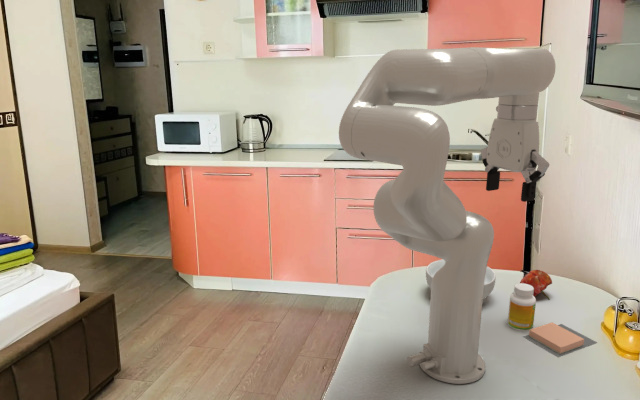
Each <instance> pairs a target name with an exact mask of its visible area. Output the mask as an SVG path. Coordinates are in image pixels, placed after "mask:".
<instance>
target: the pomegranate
mask: <svg viewBox="0 0 640 400" xmlns="http://www.w3.org/2000/svg"><path fill="white" fill-rule="evenodd" d="M519 272H521V273H523V276H522V278H521V280H520V282H519V283H524V284H528V285H531V286H532V287H533V288H534V293H533V296H534V297H535V298H536V297H537V296H538V295H539V294H541V293H542V294H543V296H544V297H546V298H547V299H548V300H551V299H550V298H549V296H548V295H546V294H545V292H544V291H545V290H546V289H547V287H548V286H550V285H552V284H553V281H552V278H551V276H550V275H549V274H548V273H547V272H545V271H543V270H540V269H533V270H530V271H529V272H528V271H526V270H524V269H521V270H519Z"/></svg>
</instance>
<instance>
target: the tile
mask: <svg viewBox="0 0 640 400" xmlns="http://www.w3.org/2000/svg"><path fill="white" fill-rule="evenodd" d="M558 325H559V324H556V323H554V321H553V322H548V323H546V324H544V325H540V326H537V327H533V329H530V330H529V331H528V335H529V337H531V338H533V339H534V340H536V341H538V342H540V343H541V344H543V345H545V346H547V347H548V348H550V349H552V350H554V351H555V352H557V353H559V354H562V353H565V352H567V351H570V350H573V349H575V348H578V347H581V346H583V345H584V339H583V338H581V337H579V336H577V335H575V334H574V333H572V332H570V331H568V330H566V329H564V328H562V327H560V326H558Z"/></svg>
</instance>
